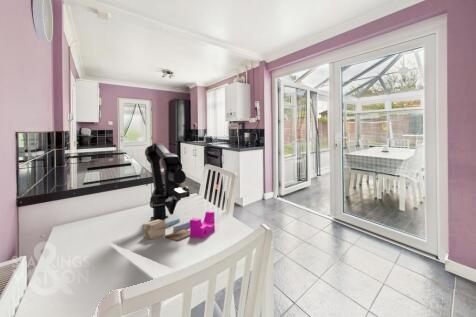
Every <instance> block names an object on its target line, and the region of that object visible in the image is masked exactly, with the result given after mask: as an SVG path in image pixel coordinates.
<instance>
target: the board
mask: <svg viewBox="0 0 476 317" xmlns="http://www.w3.org/2000/svg"><path fill="white" fill-rule="evenodd" d="M164 237H165V238H167V239H170V240H173V241H175V242H179V241H182V240H184V239H186V238H188V237H190V229H189V230H188V229H186V228H185V229H182V230H179V231H176V232H172V233H169V234H165V235H164Z"/></svg>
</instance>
